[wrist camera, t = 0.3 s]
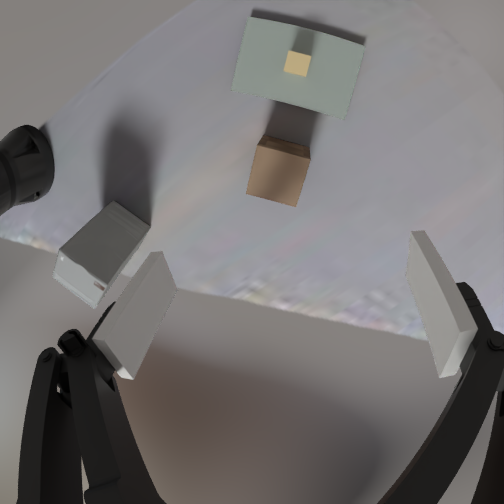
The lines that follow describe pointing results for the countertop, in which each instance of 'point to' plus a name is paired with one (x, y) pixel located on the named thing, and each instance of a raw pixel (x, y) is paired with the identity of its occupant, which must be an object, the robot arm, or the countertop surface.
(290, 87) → the pale green flat panel
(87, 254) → the skincare box
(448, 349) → the robot arm
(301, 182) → the cardboard shipping box
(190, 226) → the countertop surface
